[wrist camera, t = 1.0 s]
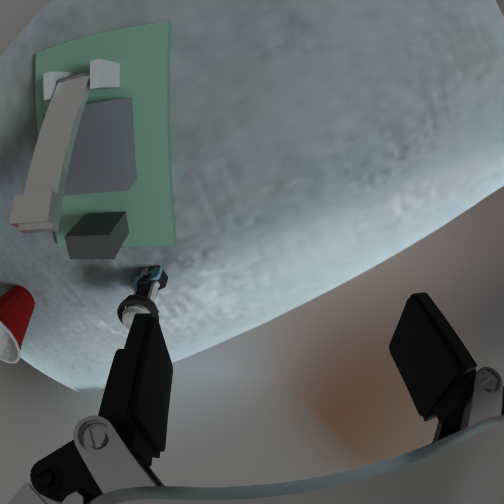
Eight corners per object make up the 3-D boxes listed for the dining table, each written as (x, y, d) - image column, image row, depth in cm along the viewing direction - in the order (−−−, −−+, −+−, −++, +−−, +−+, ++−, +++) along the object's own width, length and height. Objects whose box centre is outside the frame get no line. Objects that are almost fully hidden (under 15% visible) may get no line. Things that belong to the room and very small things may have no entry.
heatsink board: (41, 53, 23) (5, 51, 16) (171, 24, 25) (156, 6, 18) (63, 242, 37) (38, 272, 30) (176, 240, 39) (166, 273, 32)
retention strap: (63, 83, 22) (55, 71, 20) (97, 75, 23) (91, 61, 21) (23, 233, 20) (9, 227, 17) (60, 231, 20) (47, 224, 18)
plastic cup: (44, 284, 41) (13, 332, 30) (47, 326, 45) (24, 372, 35) (-1, 264, 38) (-35, 305, 27) (6, 306, 42) (-21, 347, 32)
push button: (139, 297, 43) (124, 344, 35) (120, 270, 41) (99, 316, 32) (175, 282, 42) (165, 331, 34) (156, 254, 40) (140, 300, 31)
